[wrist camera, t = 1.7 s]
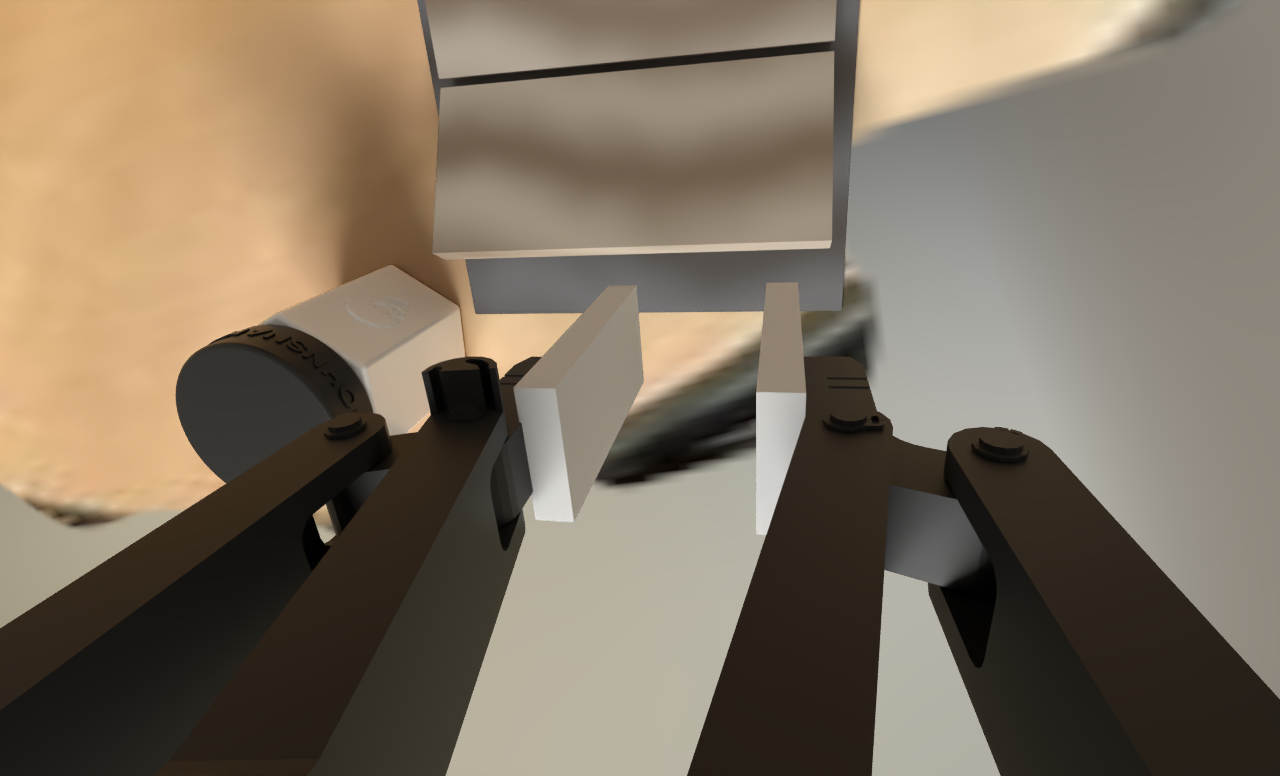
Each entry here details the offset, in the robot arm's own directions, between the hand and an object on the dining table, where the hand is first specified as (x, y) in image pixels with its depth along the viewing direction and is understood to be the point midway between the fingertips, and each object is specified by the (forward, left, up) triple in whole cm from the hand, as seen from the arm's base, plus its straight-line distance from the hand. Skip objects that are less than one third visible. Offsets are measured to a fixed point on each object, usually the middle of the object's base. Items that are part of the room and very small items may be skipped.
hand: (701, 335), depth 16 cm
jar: (+6, -20, -17) cm, 27 cm away
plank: (-3, -5, -14) cm, 15 cm away
